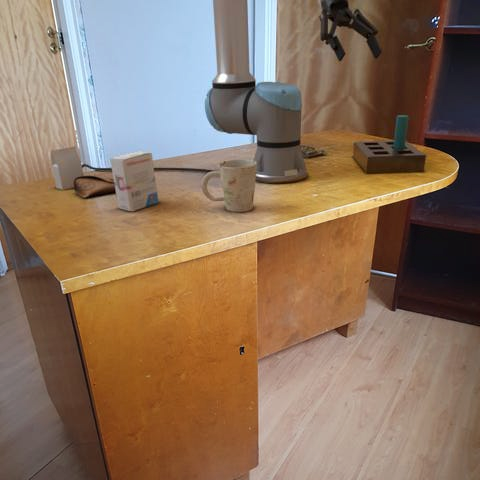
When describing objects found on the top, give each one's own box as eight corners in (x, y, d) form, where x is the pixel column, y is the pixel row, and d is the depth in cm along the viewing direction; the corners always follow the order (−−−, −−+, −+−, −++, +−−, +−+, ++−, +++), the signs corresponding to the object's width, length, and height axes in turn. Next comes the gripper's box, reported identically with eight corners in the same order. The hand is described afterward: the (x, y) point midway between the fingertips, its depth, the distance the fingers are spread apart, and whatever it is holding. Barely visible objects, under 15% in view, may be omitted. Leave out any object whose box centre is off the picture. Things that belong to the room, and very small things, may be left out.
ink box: (145, 199, 121) (138, 149, 115) (159, 202, 118) (153, 151, 113) (117, 208, 116) (109, 156, 110) (131, 212, 113) (123, 158, 107)
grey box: (85, 184, 136) (78, 147, 131) (62, 189, 132) (54, 151, 127) (78, 182, 139) (71, 145, 134) (56, 187, 135) (47, 149, 130)
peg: (392, 164, 144) (398, 117, 137) (390, 162, 147) (395, 115, 140) (403, 164, 144) (410, 116, 137) (401, 162, 146) (407, 115, 140)
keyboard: (264, 149, 171) (264, 143, 170) (284, 145, 175) (284, 139, 174) (307, 158, 155) (307, 151, 154) (328, 154, 159) (328, 147, 158)
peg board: (366, 173, 136) (367, 156, 134) (352, 156, 155) (354, 141, 153) (423, 171, 135) (426, 155, 133) (403, 155, 155) (405, 140, 152)
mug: (257, 213, 109) (257, 167, 104) (201, 215, 109) (197, 169, 104) (257, 202, 116) (256, 158, 111) (204, 203, 116) (201, 160, 111)
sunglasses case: (84, 197, 123) (75, 171, 123) (79, 206, 129) (71, 181, 129) (150, 185, 131) (142, 161, 131) (143, 193, 137) (135, 170, 137)
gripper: (303, -12, 142) (332, 47, 137) (370, -12, 151) (400, 44, 147) (292, 11, 148) (320, 68, 144) (358, 10, 158) (385, 63, 154)
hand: (360, 56), depth 146 cm, fingers open, 13 cm apart
